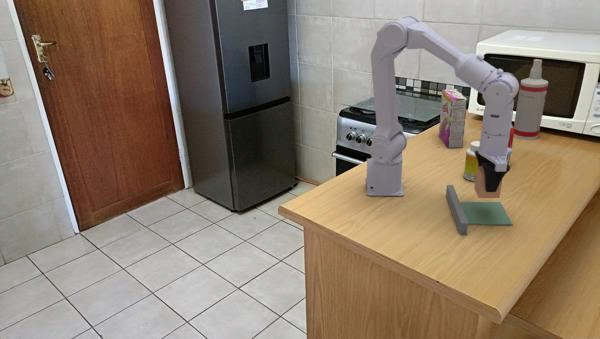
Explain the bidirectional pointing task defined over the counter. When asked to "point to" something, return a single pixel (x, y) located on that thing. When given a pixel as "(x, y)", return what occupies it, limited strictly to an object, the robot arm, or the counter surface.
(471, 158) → the supplement bottle
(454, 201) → the low wall
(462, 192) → the counter surface
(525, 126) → the nozzle squeeze bottle
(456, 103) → the candy bar box
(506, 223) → the rubber mat
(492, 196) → the terracotta block
